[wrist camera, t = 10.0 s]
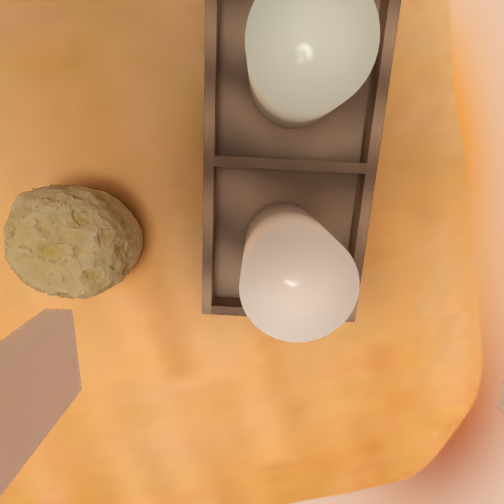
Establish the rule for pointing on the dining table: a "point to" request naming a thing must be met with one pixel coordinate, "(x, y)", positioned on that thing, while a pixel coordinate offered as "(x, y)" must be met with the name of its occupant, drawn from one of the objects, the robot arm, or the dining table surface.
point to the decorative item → (71, 240)
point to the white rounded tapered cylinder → (295, 275)
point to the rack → (282, 155)
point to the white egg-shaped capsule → (308, 56)
